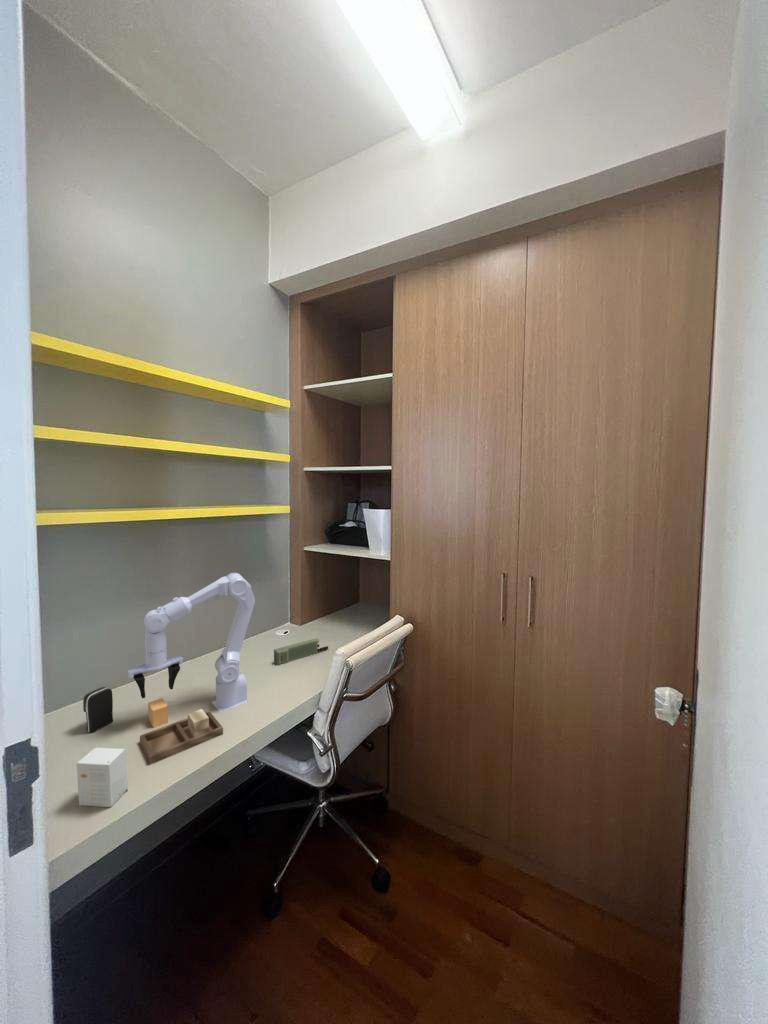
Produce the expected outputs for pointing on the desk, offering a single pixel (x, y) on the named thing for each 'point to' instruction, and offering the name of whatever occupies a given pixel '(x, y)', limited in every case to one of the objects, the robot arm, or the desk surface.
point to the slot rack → (176, 739)
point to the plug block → (158, 712)
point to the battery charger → (98, 708)
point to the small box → (102, 777)
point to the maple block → (198, 723)
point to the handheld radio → (297, 651)
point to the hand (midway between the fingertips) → (157, 692)
